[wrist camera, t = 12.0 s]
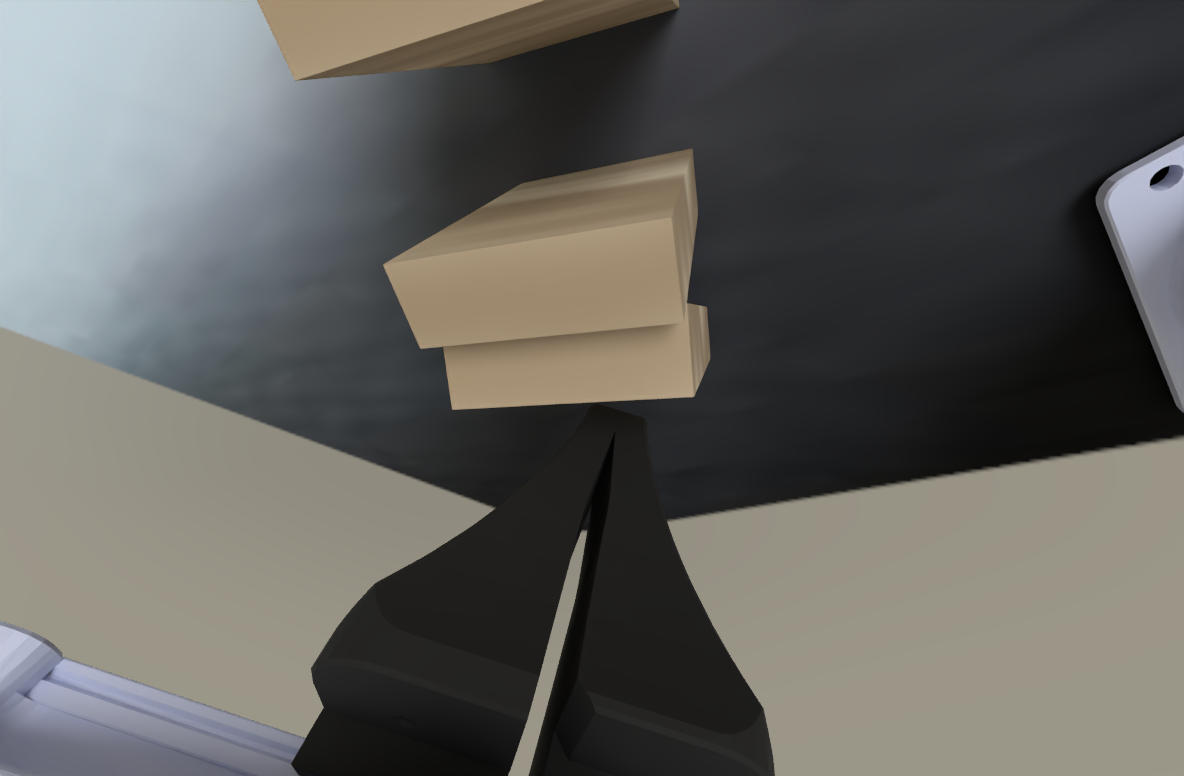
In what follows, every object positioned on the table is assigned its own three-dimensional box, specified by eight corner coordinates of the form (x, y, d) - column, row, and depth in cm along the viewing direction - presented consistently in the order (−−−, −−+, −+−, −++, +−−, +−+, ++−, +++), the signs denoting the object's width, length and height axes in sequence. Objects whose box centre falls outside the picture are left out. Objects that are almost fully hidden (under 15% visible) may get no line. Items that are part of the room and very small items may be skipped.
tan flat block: (697, 212, 13) (684, 322, 7) (537, 238, 14) (420, 348, 9) (692, 148, 12) (671, 217, 6) (522, 183, 14) (383, 264, 8)
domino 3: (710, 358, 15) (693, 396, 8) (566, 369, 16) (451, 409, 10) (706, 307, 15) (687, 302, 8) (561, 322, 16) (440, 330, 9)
